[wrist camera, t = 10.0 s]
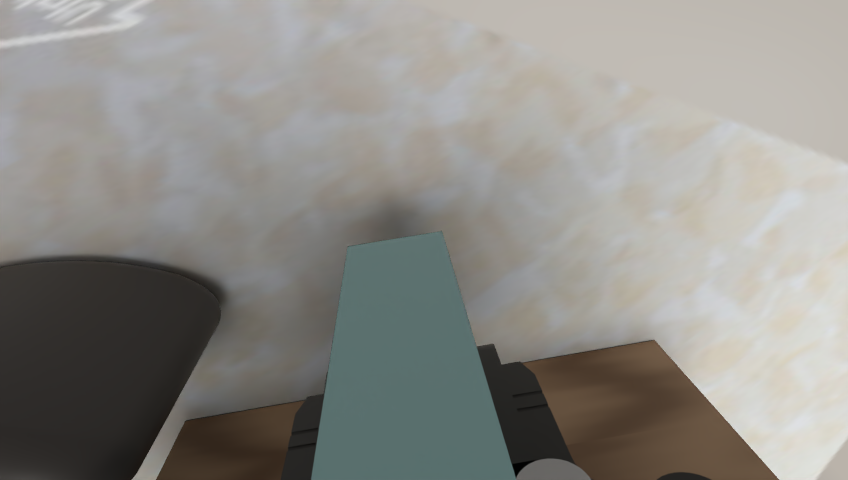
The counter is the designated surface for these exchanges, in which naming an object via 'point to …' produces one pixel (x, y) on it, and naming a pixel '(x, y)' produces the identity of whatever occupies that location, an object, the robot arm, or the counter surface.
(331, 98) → the counter surface
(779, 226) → the counter surface
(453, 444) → the teal plate
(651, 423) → the brown flat u-shaped block
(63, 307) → the black rounded block
